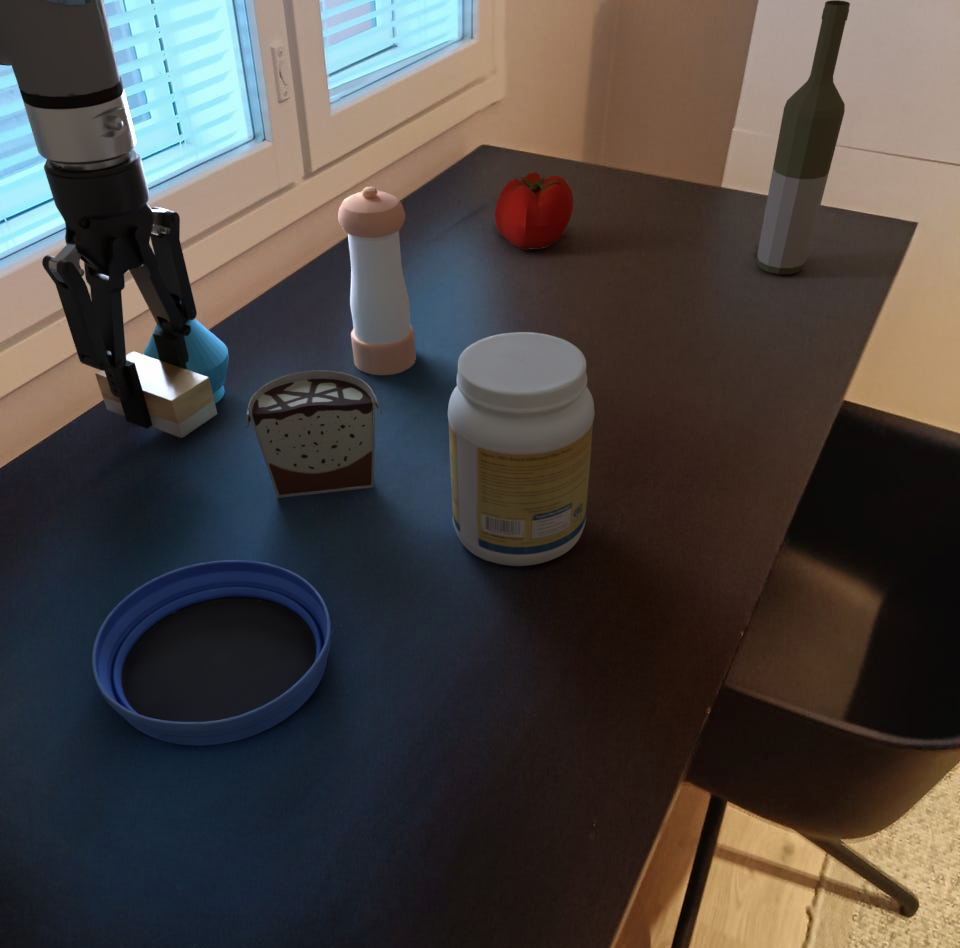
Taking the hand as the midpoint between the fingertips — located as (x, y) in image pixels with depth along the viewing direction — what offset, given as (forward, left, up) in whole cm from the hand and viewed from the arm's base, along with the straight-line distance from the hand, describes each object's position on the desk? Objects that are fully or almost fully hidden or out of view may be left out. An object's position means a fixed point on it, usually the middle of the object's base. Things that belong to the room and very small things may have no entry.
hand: (160, 408), depth 91 cm
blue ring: (+24, -20, -6) cm, 32 cm away
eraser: (0, 0, 0) cm, 0 cm away
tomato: (+6, +65, -6) cm, 66 cm away
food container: (+15, +5, -6) cm, 17 cm away
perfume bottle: (-7, +10, -6) cm, 13 cm away
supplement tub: (+36, +7, -6) cm, 37 cm away
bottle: (+39, +74, -6) cm, 84 cm away
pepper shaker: (+7, +27, -6) cm, 29 cm away
